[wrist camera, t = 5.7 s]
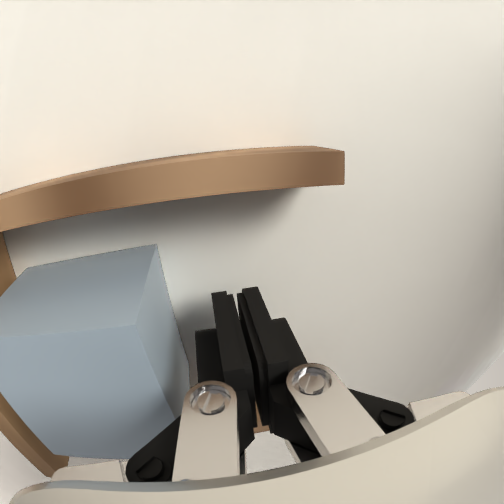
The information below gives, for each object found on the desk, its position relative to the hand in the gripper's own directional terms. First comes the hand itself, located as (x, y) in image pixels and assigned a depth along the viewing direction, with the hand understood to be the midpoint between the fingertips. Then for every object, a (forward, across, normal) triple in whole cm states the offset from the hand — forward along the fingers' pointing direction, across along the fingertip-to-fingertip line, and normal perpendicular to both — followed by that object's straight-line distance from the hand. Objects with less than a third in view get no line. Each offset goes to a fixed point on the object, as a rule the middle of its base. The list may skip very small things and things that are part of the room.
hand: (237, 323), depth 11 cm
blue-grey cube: (+1, +6, 0) cm, 6 cm away
